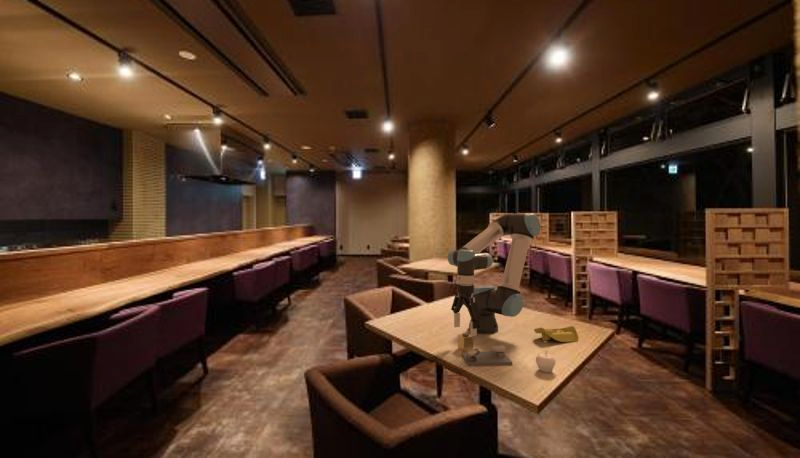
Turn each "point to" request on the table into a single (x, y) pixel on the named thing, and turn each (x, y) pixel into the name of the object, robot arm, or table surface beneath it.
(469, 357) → the shaft
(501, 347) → the bolted mounting plate
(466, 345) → the orange rectangular block
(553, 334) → the plastic component
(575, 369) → the table surface
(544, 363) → the plain white apple
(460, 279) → the robot arm
